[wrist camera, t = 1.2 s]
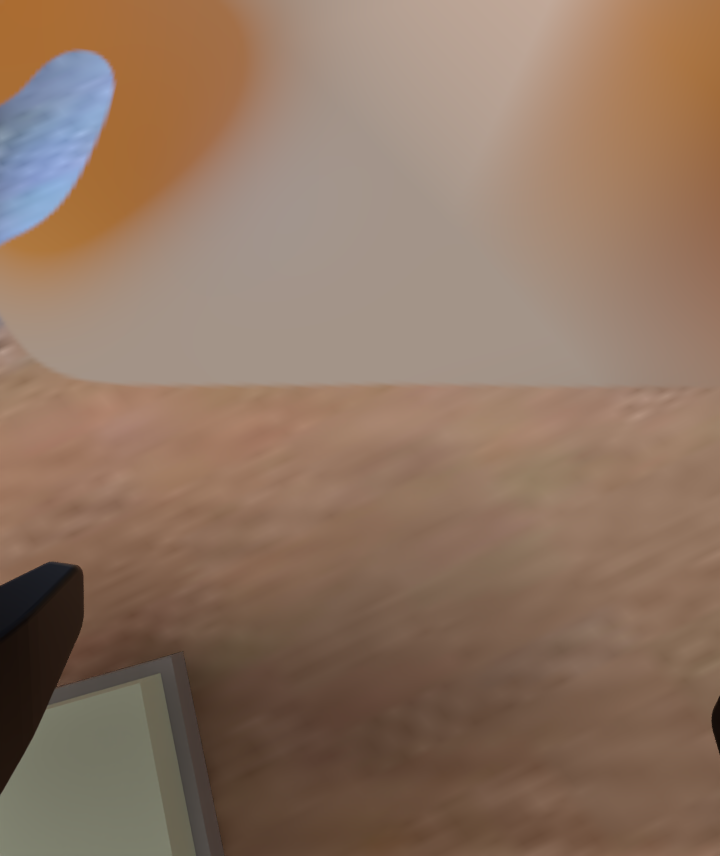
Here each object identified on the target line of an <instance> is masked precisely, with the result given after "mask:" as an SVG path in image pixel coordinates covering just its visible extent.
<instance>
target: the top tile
mask: <svg viewBox="0 0 720 856" xmlns="http://www.w3.org/2000/svg"><path fill="white" fill-rule="evenodd" d="M0 856H196V852H195V847H194V842H193V837H192V832H191V827H190V821H189V816H188V811H187V806H186V801H185V796H184V791H183V786H182V781H181V775H180V770H179V765H178V760H177V755H176V750H175V745H174V740H173V734H172V729H171V724H170V719H169V714H168V709H167V704H166V699H165V694H164V688H163V683H162V678H161V673H158V674H155V675H152V676H148V677H145V678H141V679H138V680H134V681H131V682H127V683H124V684H120V685H117V686H113V687H110V688H106V689H103V690H99V691H96V692H92V693H89V694H85V695H82V696H78V697H75V698H72V699H68V700H65V701H61V702H58V703H54V704H51V705H48V706H47V708H46V711H45V713H44V715H43V717H42V720H41V722H40V724H39V726H38V728H37V730H36V732H35V735H34V737H33V738H32V740H31V742H30V744H29V746H28V748H27V750H26V751H25V753H24V755H23V757H22V759H21V760H20V762H19V764H18V765H17V767H16V769H15V771H14V772H13V774H12V776H11V778H10V779H9V781H8V783H7V785H6V786H5V788H4V790H3V792H2V793H1V795H0Z"/></svg>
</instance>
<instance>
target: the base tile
mask: <svg viewBox="0 0 720 856" xmlns="http://www.w3.org/2000/svg"><path fill="white" fill-rule="evenodd" d="M158 673H161V678H162V683H163V688H164V694H165V699H166V704H167V709H168V714H169V719H170V724H171V729H172V734H173V740H174V745H175V750H176V755H177V760H178V765H179V770H180V775H181V781H182V786H183V791H184V796H185V801H186V806H187V811H188V816H189V821H190V827H191V832H192V837H193V842H194V847H195V852H196V856H224V851H223V846H222V841H221V836H220V831H219V827H218V822H217V817H216V812H215V807H214V802H213V797H212V792H211V787H210V782H209V777H208V773H207V768H206V763H205V758H204V753H203V748H202V743H201V738H200V733H199V728H198V723H197V718H196V714H195V709H194V704H193V699H192V694H191V689H190V684H189V679H188V674H187V669H186V664H185V659H184V655H183V651H182V652H179V653H175V654H172V655H168V656H165V657H161V658H158V659H154V660H151V661H147V662H144V663H140V664H137V665H133V666H130V667H126V668H123V669H119V670H116V671H112V672H109V673H105V674H102V675H98V676H95V677H91V678H88V679H84V680H81V681H77V682H74V683H70V684H67V685H63V686H60V687H56V688H55V690H54V692H53V695H52V697H51V699H50V701H49V704H48V705H51V704H54V703H58V702H61V701H65V700H68V699H72V698H75V697H78V696H82V695H85V694H89V693H92V692H96V691H99V690H103V689H106V688H110V687H113V686H117V685H120V684H124V683H127V682H131V681H134V680H138V679H141V678H145V677H148V676H152V675H155V674H158Z"/></svg>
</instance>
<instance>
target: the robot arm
mask: <svg viewBox="0 0 720 856" xmlns="http://www.w3.org/2000/svg"><path fill="white" fill-rule="evenodd" d="M83 617H84V585H83V572H82V569H81V568H80V567H79V566H78V565H73V564H67V563H60V562H48V563H46V564H43V565H41V566H39V567H37V568H35V569H33V570H31V571H29V572H27V573H25V574H23V575H21V576H19V577H17V578H15V579H13V580H11V581H9V582H7V583H5V584H3V585H1V586H0V795H1V793H2V792H3V790H4V788H5V786H6V785H7V783H8V781H9V779H10V778H11V776H12V774H13V772H14V771H15V769H16V767H17V765H18V764H19V762H20V760H21V759H22V757H23V755H24V753H25V751H26V750H27V748H28V746H29V744H30V742H31V740H32V738H33V737H34V735H35V732H36V730H37V728H38V726H39V724H40V722H41V720H42V717H43V715H44V713H45V711H46V708H47V706H48V704H49V701H50V699H51V697H52V695H53V692H54V690H55V688H56V685H57V683H58V681H59V679H60V676H61V674H62V672H63V669H64V667H65V665H66V663H67V660H68V658H69V656H70V654H71V651H72V649H73V647H74V644H75V642H76V640H77V638H78V635H79V633H80V630H81V627H82V623H83ZM712 729H713V733H714V736H715V740H716V743H717V747H718V750H719V754H720V696H719V698H718V700H717V703H716V705H715V707H714V709H713V712H712Z"/></svg>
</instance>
